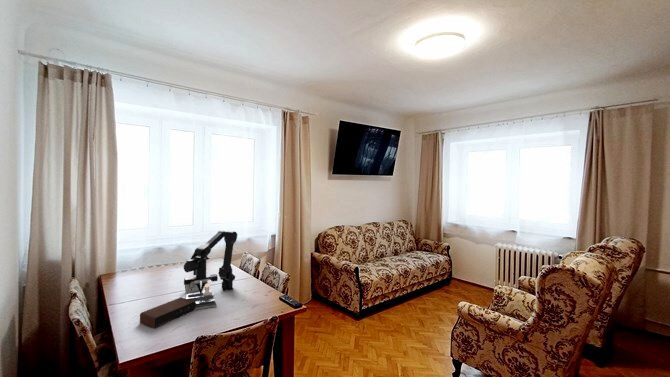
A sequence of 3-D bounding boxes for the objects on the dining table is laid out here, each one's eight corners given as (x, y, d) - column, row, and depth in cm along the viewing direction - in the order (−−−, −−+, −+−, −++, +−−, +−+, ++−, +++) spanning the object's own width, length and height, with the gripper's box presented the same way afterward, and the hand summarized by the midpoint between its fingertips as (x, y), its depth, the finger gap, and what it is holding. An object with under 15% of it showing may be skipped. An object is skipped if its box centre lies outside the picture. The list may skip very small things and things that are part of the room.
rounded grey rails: (216, 304, 170) (216, 302, 170) (216, 307, 167) (216, 305, 167) (184, 309, 163) (184, 307, 163) (184, 312, 159) (184, 310, 159)
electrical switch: (186, 294, 184) (186, 279, 185) (183, 293, 188) (182, 278, 188) (201, 290, 192) (200, 276, 192) (197, 289, 195) (197, 275, 195)
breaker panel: (213, 293, 187) (213, 287, 187) (215, 303, 171) (215, 298, 171) (185, 297, 180) (185, 291, 180) (185, 308, 164) (185, 302, 164)
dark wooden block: (154, 329, 141) (154, 318, 141) (139, 324, 146) (139, 313, 145) (195, 311, 162) (195, 300, 162) (181, 306, 167) (181, 296, 167)
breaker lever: (210, 294, 180) (210, 284, 180) (210, 296, 176) (211, 286, 176) (202, 295, 178) (203, 285, 178) (203, 297, 174) (203, 287, 174)
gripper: (216, 263, 187) (216, 286, 187) (184, 266, 178) (184, 290, 179) (217, 267, 177) (217, 292, 177) (184, 271, 168) (183, 297, 169)
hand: (200, 293), depth 176 cm, fingers closed
